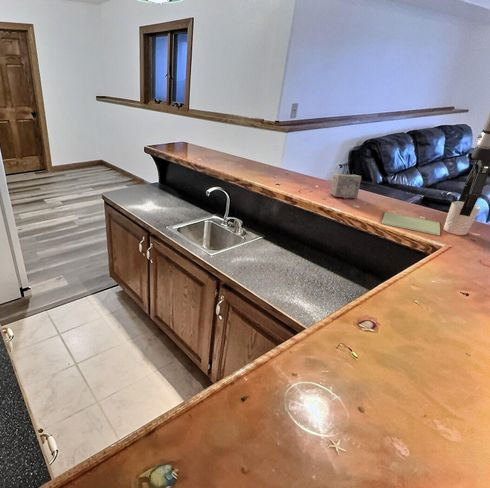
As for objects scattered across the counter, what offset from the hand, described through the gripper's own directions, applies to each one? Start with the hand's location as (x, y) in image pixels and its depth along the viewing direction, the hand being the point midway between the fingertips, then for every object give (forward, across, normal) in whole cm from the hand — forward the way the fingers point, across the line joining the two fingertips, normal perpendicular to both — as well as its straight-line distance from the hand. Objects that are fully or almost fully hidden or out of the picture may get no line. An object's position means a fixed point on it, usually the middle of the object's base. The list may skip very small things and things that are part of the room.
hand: (463, 209), depth 121 cm
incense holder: (+9, -17, -40) cm, 44 cm away
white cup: (+8, 0, 0) cm, 9 cm away
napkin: (+8, +1, -13) cm, 16 cm away
